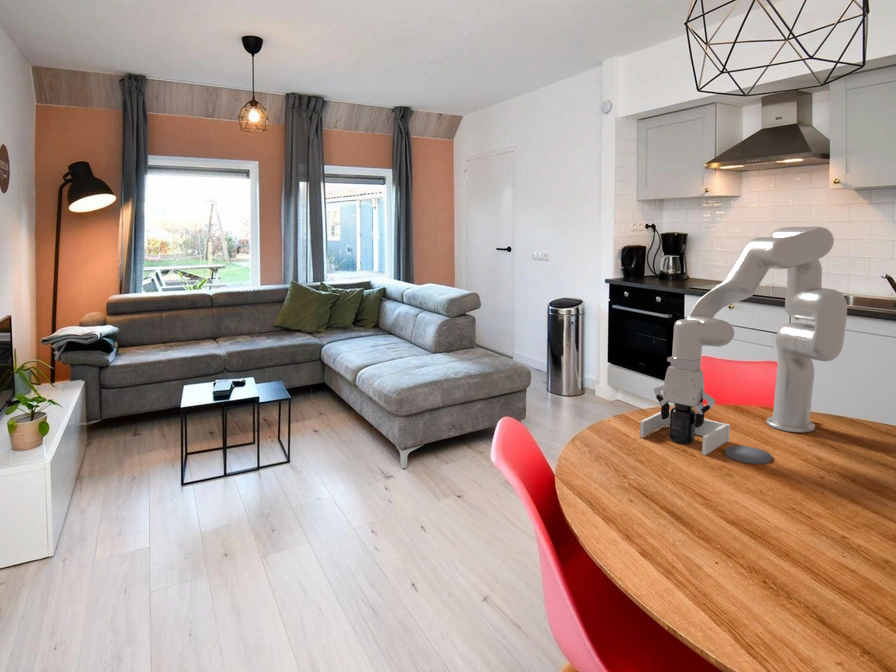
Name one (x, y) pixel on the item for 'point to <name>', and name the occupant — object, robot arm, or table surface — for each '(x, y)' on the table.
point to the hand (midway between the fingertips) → (681, 422)
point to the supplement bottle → (682, 424)
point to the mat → (748, 454)
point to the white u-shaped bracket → (709, 430)
